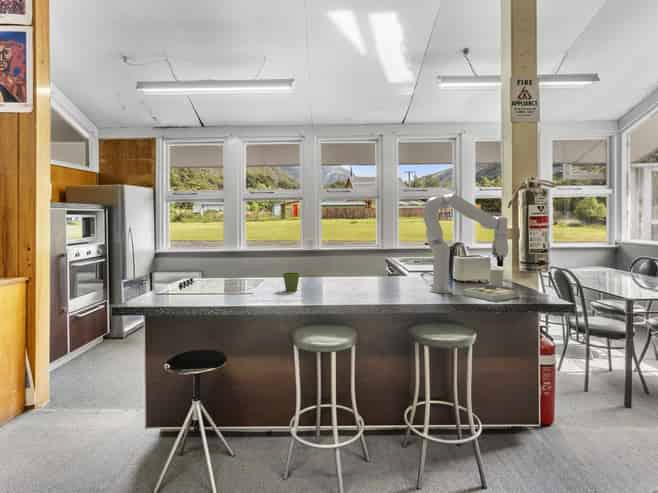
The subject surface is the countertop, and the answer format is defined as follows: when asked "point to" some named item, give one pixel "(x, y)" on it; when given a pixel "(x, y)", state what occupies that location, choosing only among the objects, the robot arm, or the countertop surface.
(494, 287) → the charcoal tile
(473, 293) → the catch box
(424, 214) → the robot arm
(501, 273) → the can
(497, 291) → the birch plate
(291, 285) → the plant pot
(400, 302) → the countertop surface
